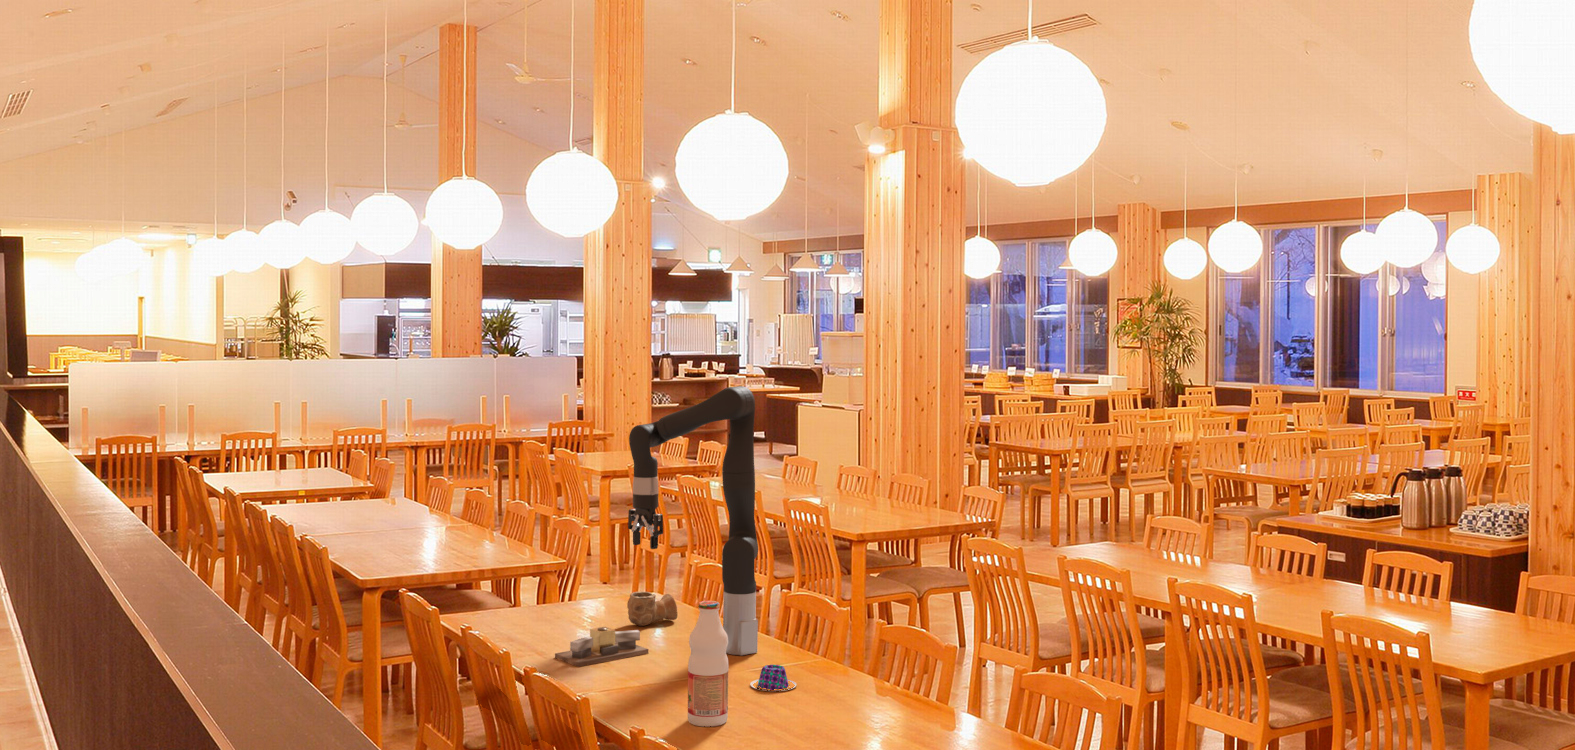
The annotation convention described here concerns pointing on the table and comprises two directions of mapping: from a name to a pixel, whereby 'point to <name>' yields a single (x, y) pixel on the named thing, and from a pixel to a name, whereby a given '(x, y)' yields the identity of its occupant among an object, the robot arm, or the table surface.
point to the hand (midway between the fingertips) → (645, 546)
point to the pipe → (650, 608)
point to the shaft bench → (603, 649)
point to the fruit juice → (708, 669)
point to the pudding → (773, 678)
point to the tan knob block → (602, 638)
